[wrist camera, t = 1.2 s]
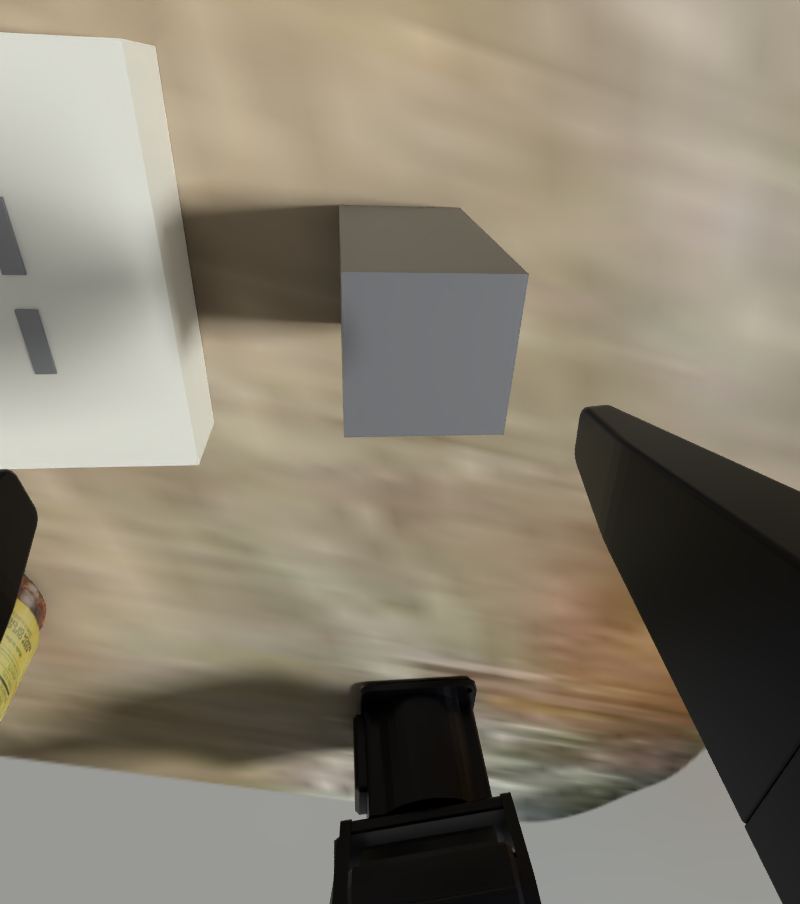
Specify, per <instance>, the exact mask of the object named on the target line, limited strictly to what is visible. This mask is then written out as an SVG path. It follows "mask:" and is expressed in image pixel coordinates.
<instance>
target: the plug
mask: <svg viewBox="0 0 800 904" xmlns="http://www.w3.org/2000/svg"><path fill="white" fill-rule="evenodd" d="M339 241H340V296H341V342H342V378H343V414H344V437H389V436H447V435H504V428H505V422H506V416H507V409H508V403H509V397H510V390H511V384H512V377H513V371H514V365H515V358H516V352H517V346H518V339H519V333H520V327H521V320H522V314H523V307H524V301H525V295H526V288H527V282H528V276H529V274H528V273H527V272H526V271H525V270H524V269H523V268H522V267H521V266H520V265H519V264H518V263H517V262H516V261H515V260H513V259H512V258H511V257H510V256H509V255H508V254H507V253H506V252H505V251H504V250H503V249H502V248H501V247H500V246H499V245H498V244H497V243H496V242H495V241H494V240H493V239H492V238H491V237H490V236H489V235H488V234H487V233H485V232H484V231H483V230H482V229H481V228H480V227H479V226H478V225H477V224H476V223H475V222H474V221H473V220H472V219H471V218H470V217H469V216H468V215H467V214H466V213H465V212H464V211H463V210H462V209H461V208H443V207H402V206H360V205H339Z"/></svg>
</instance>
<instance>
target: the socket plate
mask: <svg viewBox="0 0 800 904" xmlns="http://www.w3.org/2000/svg"><path fill="white" fill-rule="evenodd" d="M213 424H214V418H213V412H212V405H211V399H210V393H209V386H208V380H207V374H206V367H205V361H204V354H203V348H202V342H201V335H200V329H199V323H198V316H197V310H196V303H195V297H194V291H193V284H192V278H191V272H190V265H189V259H188V252H187V246H186V240H185V233H184V227H183V221H182V214H181V208H180V201H179V195H178V189H177V182H176V176H175V170H174V163H173V157H172V150H171V144H170V138H169V131H168V125H167V118H166V112H165V106H164V99H163V93H162V87H161V80H160V74H159V67H158V61H157V55H156V48H155V46H152V45H148V44H143V43H139V42H134V41H130V40H125V39H119V38H100V37H80V36H61V35H41V34H22V33H2V32H0V469H31V468H79V467H127V466H175V465H199V463H200V460H201V457H202V455H203V452H204V449H205V446H206V444H207V441H208V438H209V435H210V432H211V430H212V427H213Z"/></svg>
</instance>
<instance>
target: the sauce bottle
mask: <svg viewBox="0 0 800 904" xmlns="http://www.w3.org/2000/svg"><path fill="white" fill-rule="evenodd" d="M45 614H46V605H45V602H44V600H43V597H42V595H41V593H40V592H39V591H38V589H37V587H36V586H35V585H34V584H33V583H32V582H31V581H29V578H28V577H27V576H26V575H23V579H22V583H21V586H20V590H19V594H18V597H17V600H16V604H15V607H14V610H13V613H12V615H11V618H10V621H9V623H8V626H7V628H6V631H5V634H4V636H3V639H2V641H1V644H0V722H1V720H2V718H3V716H4V714H5V712H6V710H7V708H8V706H9V704H10V702H11V700H12V698H13V696H14V694H15V692H16V690H17V688H18V686H19V684H20V681H21V679H22V677H23V675H24V673H25V671H26V669H27V667H28V665H29V663H30V661H31V659H32V657H33V655H34V653H35V651H36V649H37V646H38V644H39V636H40V635H39V631H40V629H41V628H42V627H43V623H44V620H45Z"/></svg>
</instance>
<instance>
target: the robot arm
mask: <svg viewBox="0 0 800 904" xmlns="http://www.w3.org/2000/svg"><path fill="white" fill-rule="evenodd" d="M575 459H576V464H577V467H578V469H579V472H580V475H581V478H582V481H583V484H584V487H585V490H586V492H587V495H588V498H589V501H590V504H591V507H592V510H593V513H594V515H595V518H596V521H597V524H598V527H599V529H600V532H601V535H602V537H603V540H604V542H605V544H606V546H607V548H608V551H609V553H610V555H611V557H612V559H613V561H614V563H615V565H616V567H617V569H618V571H619V573H620V575H621V577H622V579H623V581H624V583H625V585H626V587H627V589H628V591H629V593H630V595H631V597H632V599H633V601H634V603H635V605H636V607H637V609H638V611H639V613H640V615H641V617H642V619H643V621H644V623H645V625H646V627H647V629H648V631H649V633H650V636H651V638H652V640H653V642H654V644H655V646H656V648H657V650H658V652H659V654H660V656H661V658H662V660H663V662H664V664H665V666H666V668H667V670H668V672H669V674H670V676H671V678H672V680H673V682H674V684H675V686H676V688H677V690H678V692H679V694H680V696H681V698H682V700H683V702H684V704H685V706H686V708H687V710H688V712H689V714H690V716H691V718H692V720H693V723H694V725H695V727H696V729H697V731H698V733H699V735H700V737H701V739H702V741H703V743H704V745H705V747H706V749H707V751H708V753H709V755H710V757H711V759H712V761H713V763H714V765H715V767H716V769H717V771H718V773H719V775H720V777H721V779H722V781H723V783H724V785H725V787H726V789H727V791H728V793H729V795H730V797H731V799H732V801H733V803H734V805H735V808H736V809H737V812H738V813H739V816H740V818H741V820H742V821H743V822H744V823H746V825H745V828H746V831H747V833H748V835H749V837H750V839H751V841H752V843H753V845H754V847H755V849H756V851H757V853H758V855H759V857H760V859H761V861H762V863H763V865H764V867H765V869H766V871H767V873H768V875H769V877H770V879H771V881H772V883H773V885H774V887H775V889H776V891H777V893H778V895H779V897H780V899H781V901H782V903H783V904H800V491H798V490H795V489H793V488H791V487H789V486H787V485H784V484H782V483H780V482H778V481H776V480H773V479H771V478H769V477H767V476H765V475H762V474H760V473H758V472H756V471H753V470H751V469H749V468H747V467H745V466H742V465H740V464H738V463H736V462H734V461H731V460H729V459H727V458H725V457H723V456H720V455H718V454H716V453H714V452H711V451H709V450H707V449H705V448H703V447H700V446H698V445H696V444H694V443H692V442H689V441H687V440H685V439H683V438H681V437H678V436H676V435H674V434H672V433H670V432H667V431H665V430H663V429H661V428H658V427H656V426H654V425H652V424H650V423H647V422H645V421H643V420H641V419H639V418H636V417H634V416H632V415H630V414H628V413H625V412H623V411H621V410H619V409H617V408H614V407H612V406H610V405H600V406H591V407H585V408H584V409H583V410H582V412H581V414H580V418H579V425H578V431H577V438H576V445H575ZM37 521H38V516H37V511H36V508H35V506H34V504H33V503H32V501H31V499H30V497H29V496H28V494H27V492H26V491H25V489H24V487H23V485H22V484H21V482H20V480H19V479H18V477H17V475H16V474H15V473H14V472H12V471H11V470H8V469H0V644H1V641H2V639H3V636H4V634H5V631H6V628H7V626H8V623H9V621H10V618H11V615H12V613H13V610H14V607H15V604H16V600H17V597H18V594H19V590H20V586H21V583H22V579H23V575H24V572H25V568H26V564H27V560H28V557H29V553H30V549H31V545H32V542H33V538H34V534H35V531H36V527H37ZM476 691H477V690H476V685H475V682H474V681H473V680H471V679H460V680H443V681H427V682H410V683H394V684H377V685H367V686H365V687H363V688H362V690H361V714H358V715H356V716H355V717H354V718H353V746H354V782H355V810H356V812H357V813H358V814H359V815H362V814H367V819H362V820H357V821H352V820H351V819H350V820H344V821H341V822H340V836H339V838H337V839H336V840H335V841H334V881H333V888H332V893H331V899H330V904H541V901H540V896H539V892H538V888H537V884H536V880H535V876H534V872H533V869H532V865H531V862H530V858H529V855H528V852H527V848H526V845H525V841H524V838H523V834H522V831H521V827H520V824H519V820H518V817H517V813H516V810H515V806H514V803H513V800H512V796H511V793H510V792H508V793H502V794H500V796H497V797H492V794H491V790H490V785H489V781H488V776H487V771H486V767H485V762H484V758H483V753H482V749H481V744H480V740H479V735H478V731H477V726H476V722H475V717H474V713H473V707H474V702H475V696H476Z"/></svg>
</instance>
